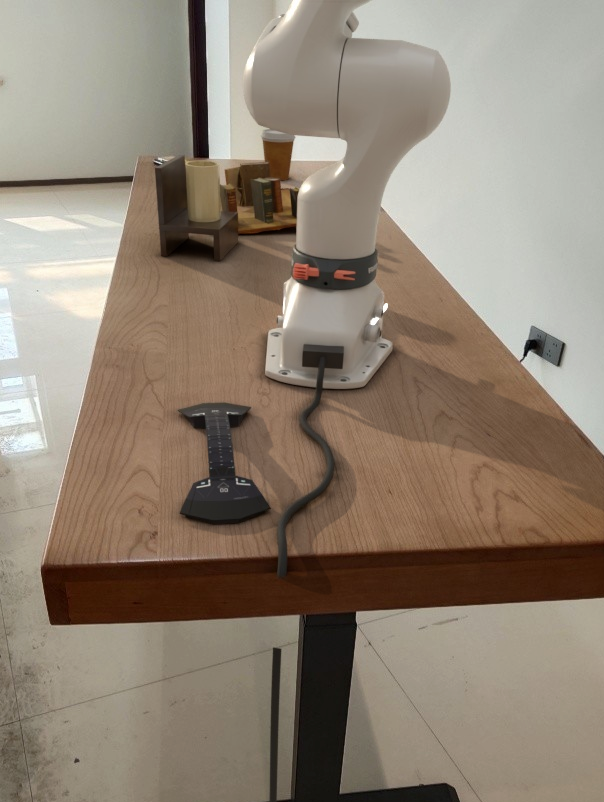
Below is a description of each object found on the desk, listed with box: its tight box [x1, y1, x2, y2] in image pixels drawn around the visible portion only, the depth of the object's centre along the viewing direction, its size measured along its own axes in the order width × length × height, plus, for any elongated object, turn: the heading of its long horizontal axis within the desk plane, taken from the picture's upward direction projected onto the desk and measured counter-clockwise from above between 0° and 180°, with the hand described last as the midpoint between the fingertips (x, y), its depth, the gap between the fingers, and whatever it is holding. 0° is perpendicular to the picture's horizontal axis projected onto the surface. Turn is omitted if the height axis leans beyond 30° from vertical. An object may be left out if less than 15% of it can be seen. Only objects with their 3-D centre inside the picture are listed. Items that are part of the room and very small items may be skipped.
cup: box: [185, 159, 221, 222], centre depth 143 cm, size 6×6×10 cm
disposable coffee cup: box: [260, 128, 296, 181], centre depth 205 cm, size 10×10×12 cm
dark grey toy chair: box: [154, 154, 239, 262], centre depth 144 cm, size 14×12×16 cm
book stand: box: [220, 161, 300, 235], centre depth 168 cm, size 35×24×15 cm
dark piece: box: [177, 401, 272, 525], centre depth 82 cm, size 9×25×3 cm, turn 8°
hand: (280, 84), depth 130 cm, fingers open, 8 cm apart
